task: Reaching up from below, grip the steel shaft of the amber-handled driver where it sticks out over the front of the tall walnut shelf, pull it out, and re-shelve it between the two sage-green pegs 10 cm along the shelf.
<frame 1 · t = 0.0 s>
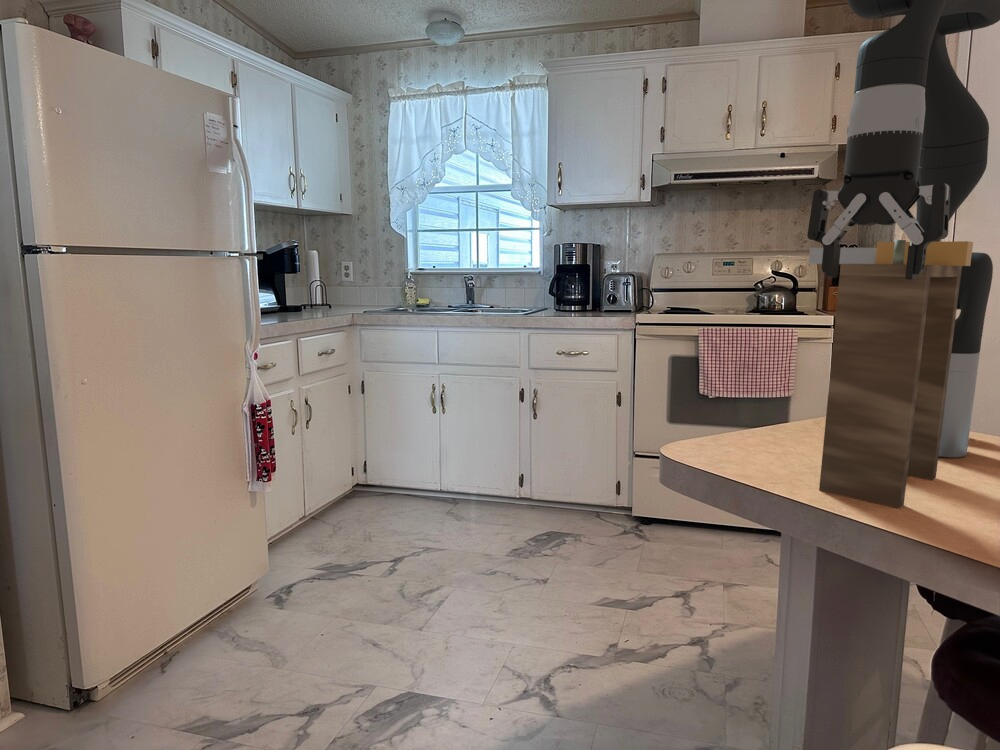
hand: (869, 278, 81), 29 cm above the table, tool pointing down, fingers open, 8 cm apart
driver: (886, 264, 100), point 31 cm above the table, touching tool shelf
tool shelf: (879, 483, 99), on the table
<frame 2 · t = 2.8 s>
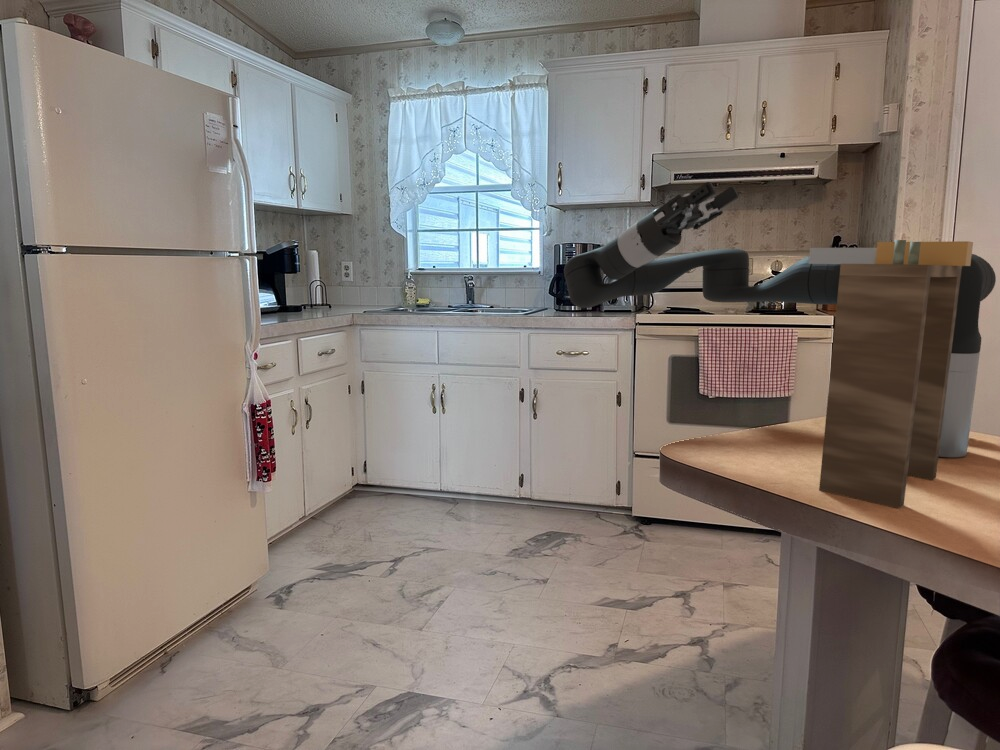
hand: (724, 189, 116), 43 cm above the table, tool pointing upward, fingers open, 8 cm apart
nothing on the table moved.
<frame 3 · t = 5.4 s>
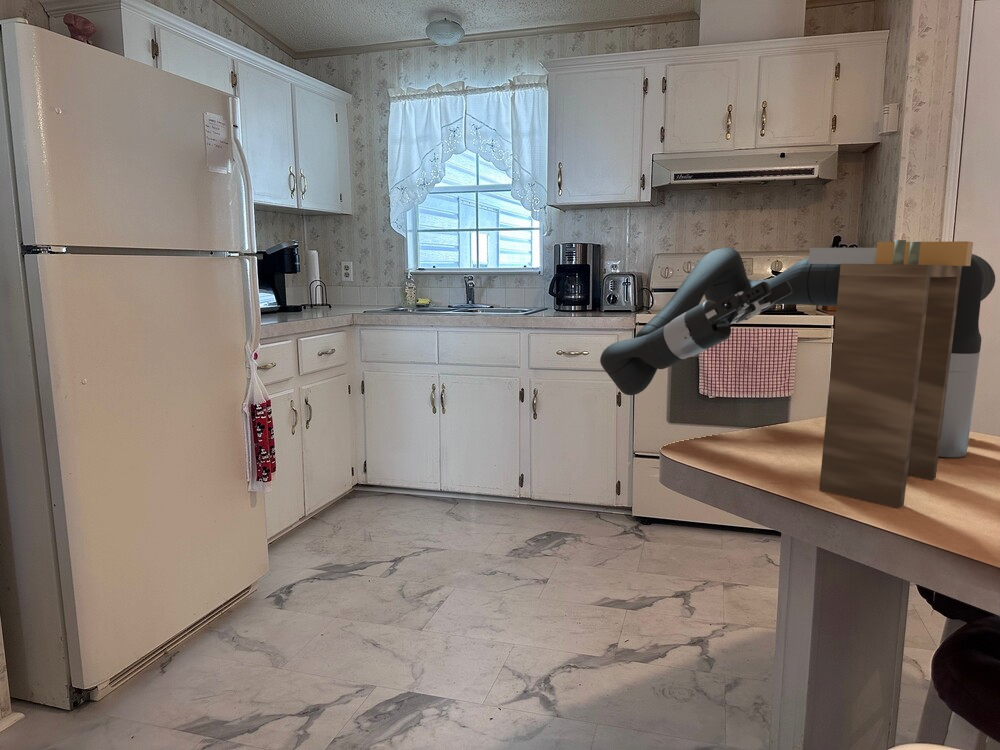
hand: (779, 286, 111), 27 cm above the table, tool pointing upward, fingers open, 8 cm apart
nothing on the table moved.
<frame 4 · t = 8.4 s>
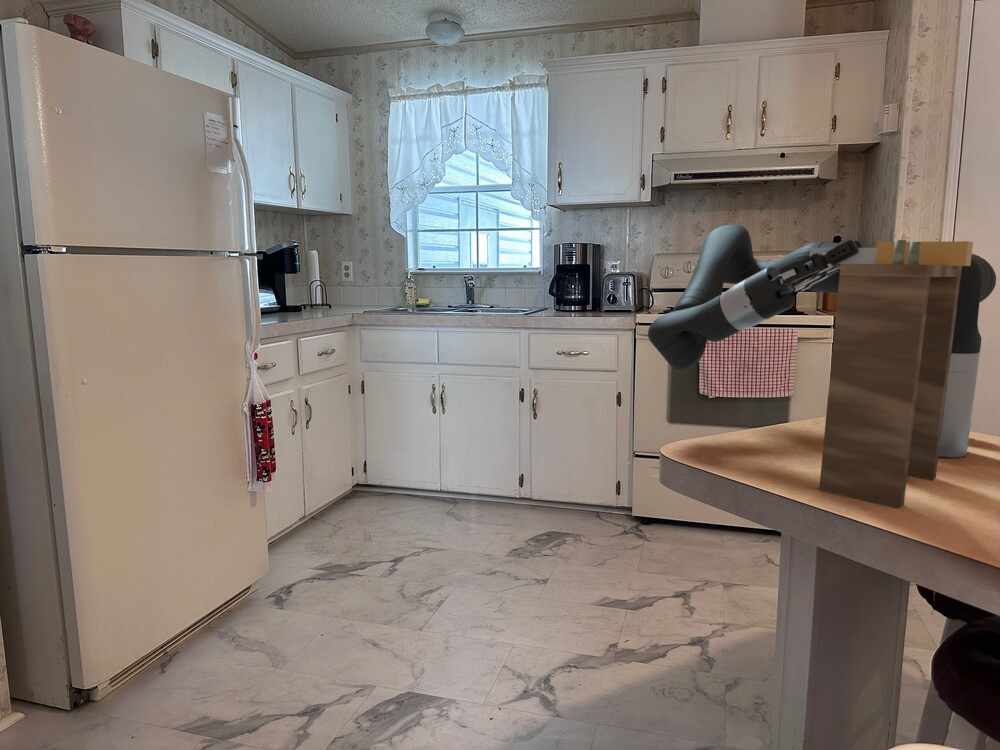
hand: (858, 246, 102), 34 cm above the table, tool pointing upward, fingers closed on driver, 2 cm apart
driver: (886, 264, 100), point 31 cm above the table, touching gripper, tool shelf
everything else where it was.
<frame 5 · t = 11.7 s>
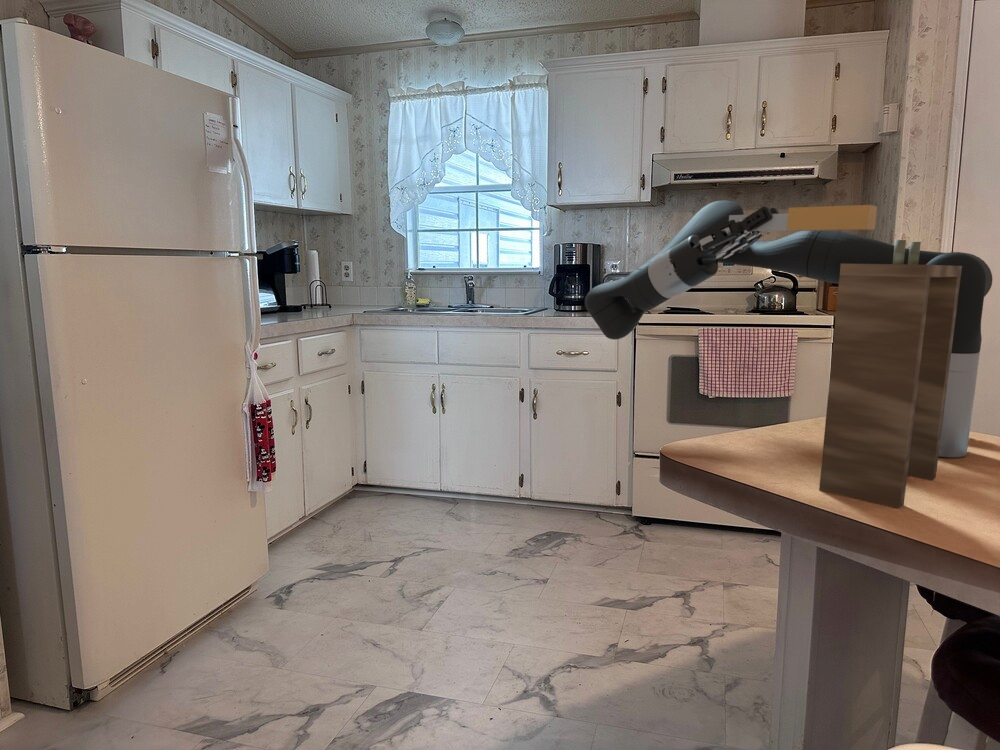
hand: (773, 212, 105), 39 cm above the table, tool pointing upward, fingers closed on driver, 2 cm apart
driver: (798, 230, 103), point 36 cm above the table, touching gripper
everything else where it was.
when the fingers open (35 cm above the table, at t = 15.1 s): driver drops 1 cm, resting on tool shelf.
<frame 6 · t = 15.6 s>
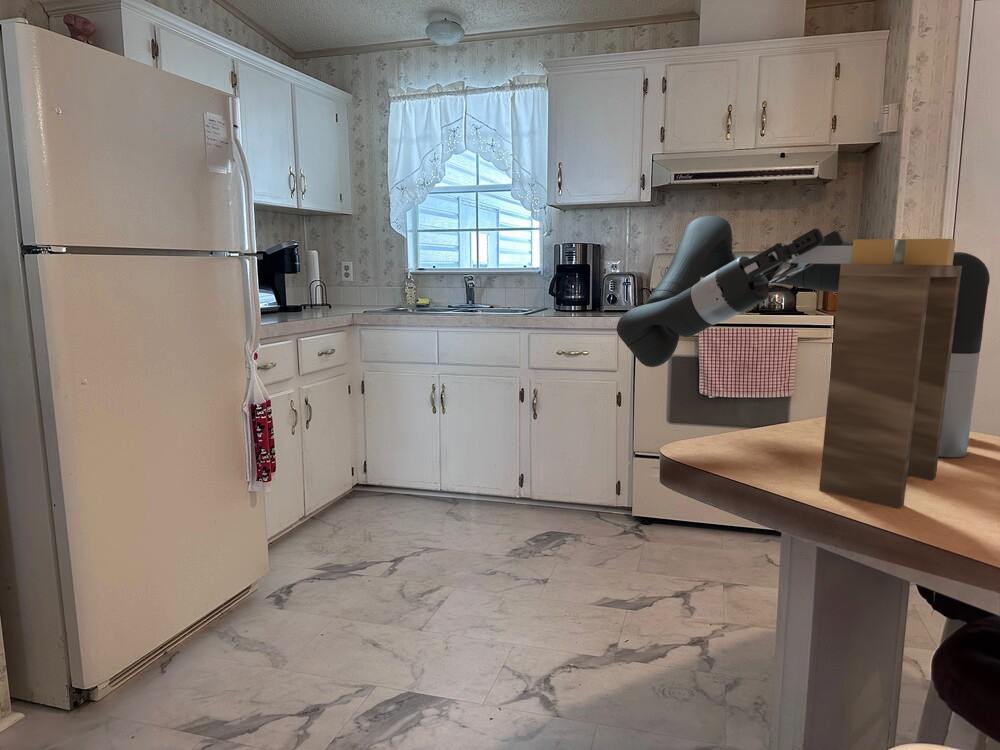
hand: (830, 235, 96), 35 cm above the table, tool pointing upward, fingers open, 7 cm apart
driver: (863, 264, 93), point 31 cm above the table, touching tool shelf
everything else where it was.
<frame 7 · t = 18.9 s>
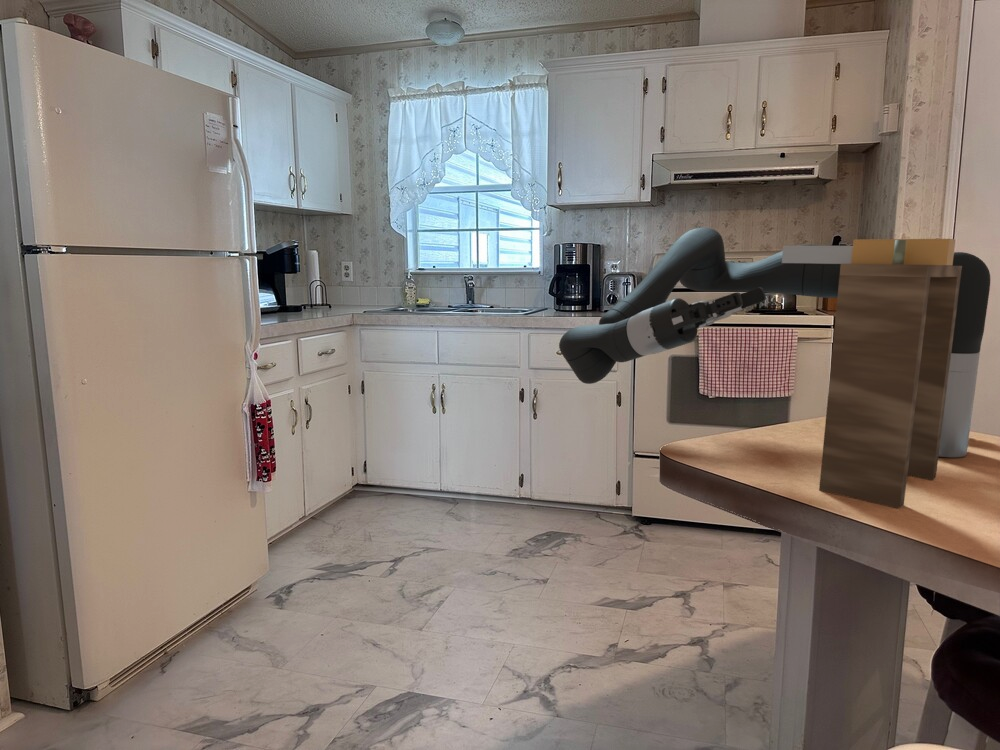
hand: (752, 296, 103), 26 cm above the table, tool pointing upward, fingers open, 8 cm apart
nothing on the table moved.
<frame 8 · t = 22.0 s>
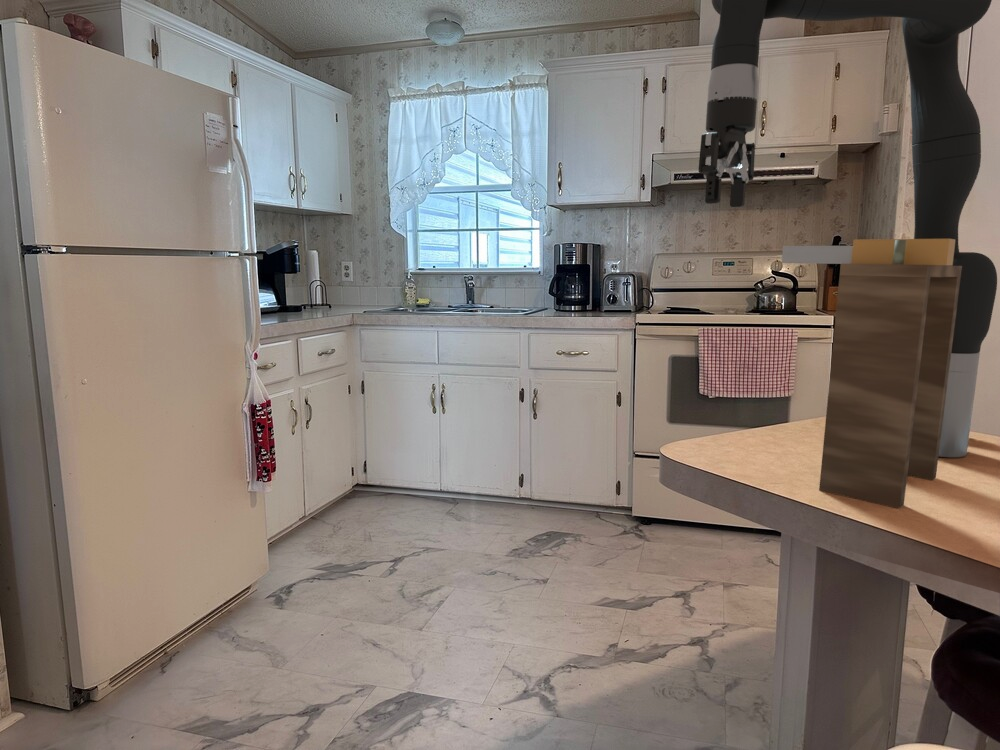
hand: (724, 205, 112), 40 cm above the table, tool pointing down, fingers open, 8 cm apart
nothing on the table moved.
at the end: driver 0.1 cm from the target spot on the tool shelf, point 31.0 cm above the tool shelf's base; driver tilted 0°; the gripper is holding nothing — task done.
